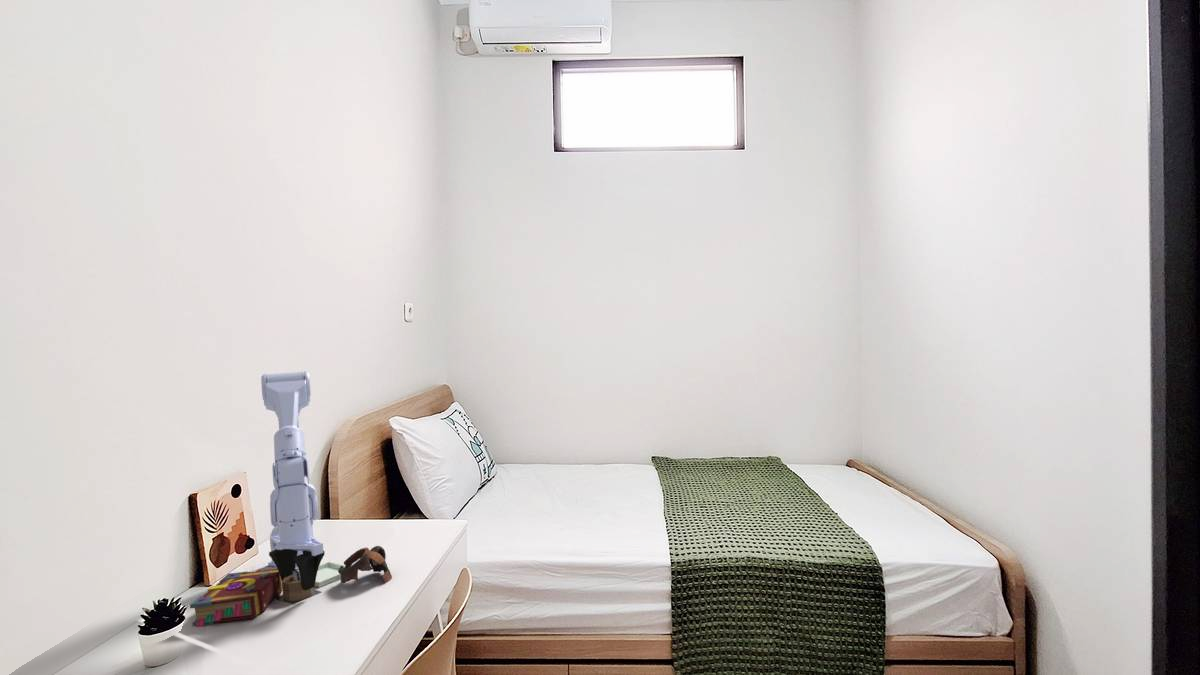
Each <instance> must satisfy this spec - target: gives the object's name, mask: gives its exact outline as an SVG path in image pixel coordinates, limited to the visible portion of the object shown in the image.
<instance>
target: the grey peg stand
mask: <svg viewBox="0 0 1200 675" xmlns="http://www.w3.org/2000/svg"><path fill="white" fill-rule="evenodd" d="M292 575H293V581H299V580H301V578H300V573H299V569H298V568H297V569H295V570H293V571H292ZM322 593H323V591H320V590H316V589H314V588H313V593H312V595H311V596H309V597H306V598H304V599H302V600H295V601H288V600H284V599H283V594H280V595H279V596H278V597H277V598H273V600H274V599H275V600H277V601H280V602H284V603H287V604H291V605H296V604H298V603H300V602H302V601H304V600H305V601H306V600H307V599H309V598H312V597H315V596H317V595H319V594H322Z"/></svg>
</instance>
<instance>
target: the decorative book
mask: <svg viewBox="0 0 1200 675" xmlns="http://www.w3.org/2000/svg"><path fill="white" fill-rule="evenodd" d="M282 591H283V588H282V580H281V577H280V574H279V571H278V569H277V568H273V569H271V568H270V569H265V570H256V571H249V572H248V571H240V572H238V571H237V572H232V573H228V574H226V575H225V576H224V577H223V578H221V579H220V580H219V582H218V583H216V584H215V585H211V586H210V587H209V588H207V592H206V593H204V594H203V595H201V596H199V597H198V598H196V599H195V600H194V601H192V602H190V604H189V609H194V611H195V620H194V621H192V622H191V624H192V625H191V626H192V627H196V628H201V627H204V628H205V626H209V625H214V624H215V623H223V622H230V621H239V620H248V619H255V618H256V617H257V616H258V615H260V613H264V612H265V611H266V610H267V609H268V607H269V606H268V605H269V604H270V603H271V601H273V600H274V598H277V597H278V596H281V595H282Z"/></svg>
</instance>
